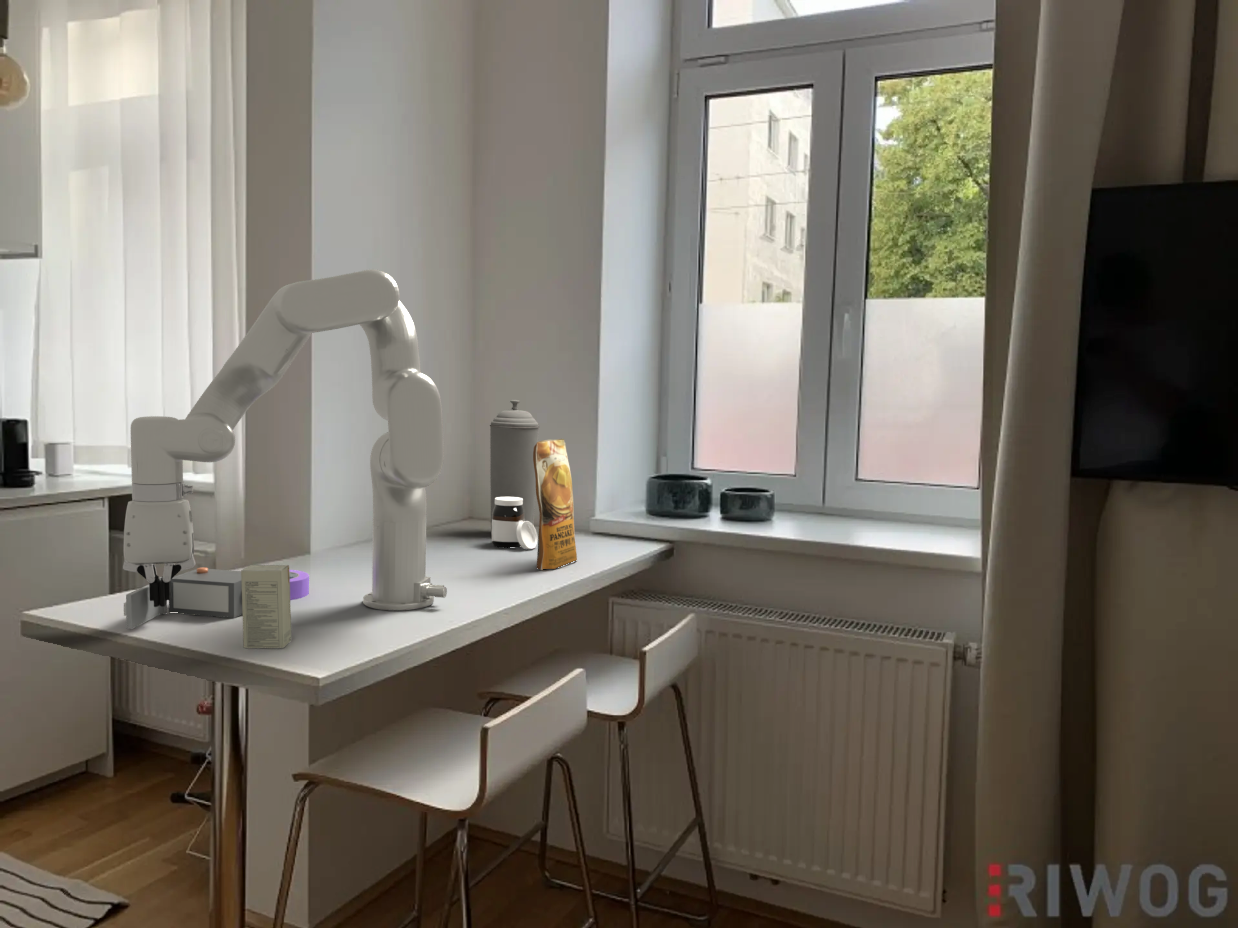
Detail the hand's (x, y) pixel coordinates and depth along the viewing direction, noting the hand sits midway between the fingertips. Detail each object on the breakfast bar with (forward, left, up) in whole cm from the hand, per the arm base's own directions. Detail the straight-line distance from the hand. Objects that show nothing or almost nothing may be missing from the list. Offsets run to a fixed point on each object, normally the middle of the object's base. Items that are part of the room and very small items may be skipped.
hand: (160, 604), depth 162 cm
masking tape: (-7, -25, -4) cm, 26 cm away
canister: (-31, -103, -4) cm, 107 cm away
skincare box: (-22, +6, -4) cm, 23 cm away
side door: (+3, 0, -3) cm, 4 cm away
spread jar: (-36, -87, -4) cm, 94 cm away
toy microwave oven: (-3, -11, -3) cm, 12 cm away
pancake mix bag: (-50, -69, -4) cm, 85 cm away
